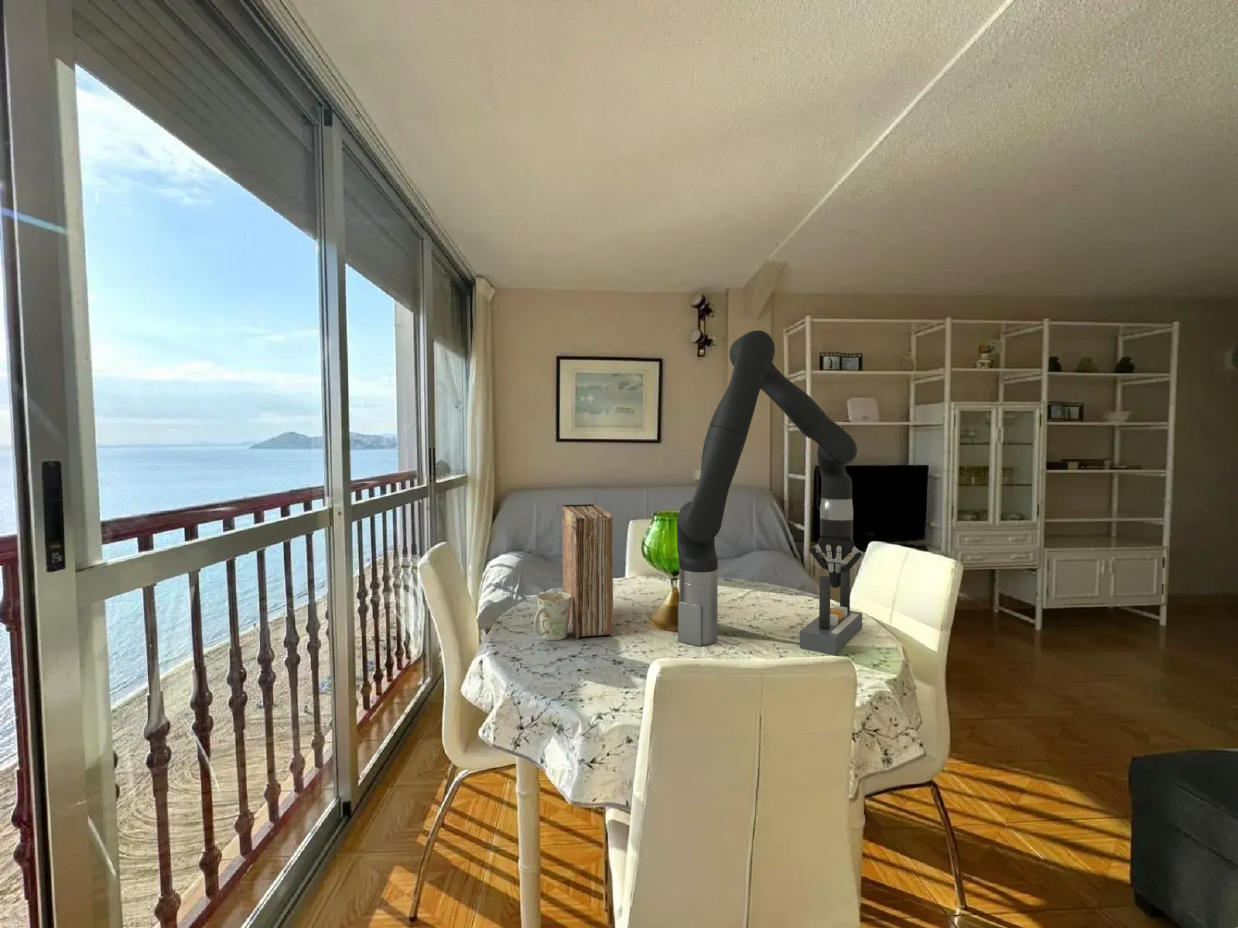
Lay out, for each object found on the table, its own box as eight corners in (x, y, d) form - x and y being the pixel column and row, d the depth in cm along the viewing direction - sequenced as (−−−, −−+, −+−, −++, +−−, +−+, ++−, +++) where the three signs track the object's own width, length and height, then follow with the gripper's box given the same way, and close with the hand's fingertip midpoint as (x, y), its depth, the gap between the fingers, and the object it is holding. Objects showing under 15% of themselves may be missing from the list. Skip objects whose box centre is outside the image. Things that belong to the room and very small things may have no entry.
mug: (577, 633, 148) (577, 594, 147) (551, 650, 136) (550, 607, 136) (549, 629, 151) (548, 590, 151) (520, 644, 140) (520, 602, 139)
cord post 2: (848, 613, 151) (848, 566, 151) (838, 611, 153) (839, 565, 152) (850, 610, 153) (851, 564, 153) (841, 609, 154) (841, 563, 154)
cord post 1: (828, 630, 137) (828, 579, 137) (817, 628, 139) (818, 577, 138) (831, 627, 139) (831, 577, 139) (820, 626, 141) (821, 575, 140)
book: (613, 637, 145) (613, 515, 144) (575, 640, 143) (575, 516, 142) (594, 608, 170) (594, 503, 168) (562, 610, 168) (561, 504, 166)
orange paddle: (839, 620, 144) (840, 612, 144) (827, 618, 146) (827, 610, 146) (842, 618, 146) (842, 610, 146) (830, 615, 148) (830, 607, 148)
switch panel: (835, 655, 133) (835, 628, 132) (799, 648, 137) (799, 622, 137) (862, 628, 152) (862, 604, 151) (830, 622, 156) (830, 599, 156)
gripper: (804, 516, 146) (803, 586, 146) (860, 520, 138) (860, 594, 139) (814, 513, 152) (813, 580, 153) (868, 517, 144) (868, 587, 145)
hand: (835, 587), depth 146 cm, fingers closed
